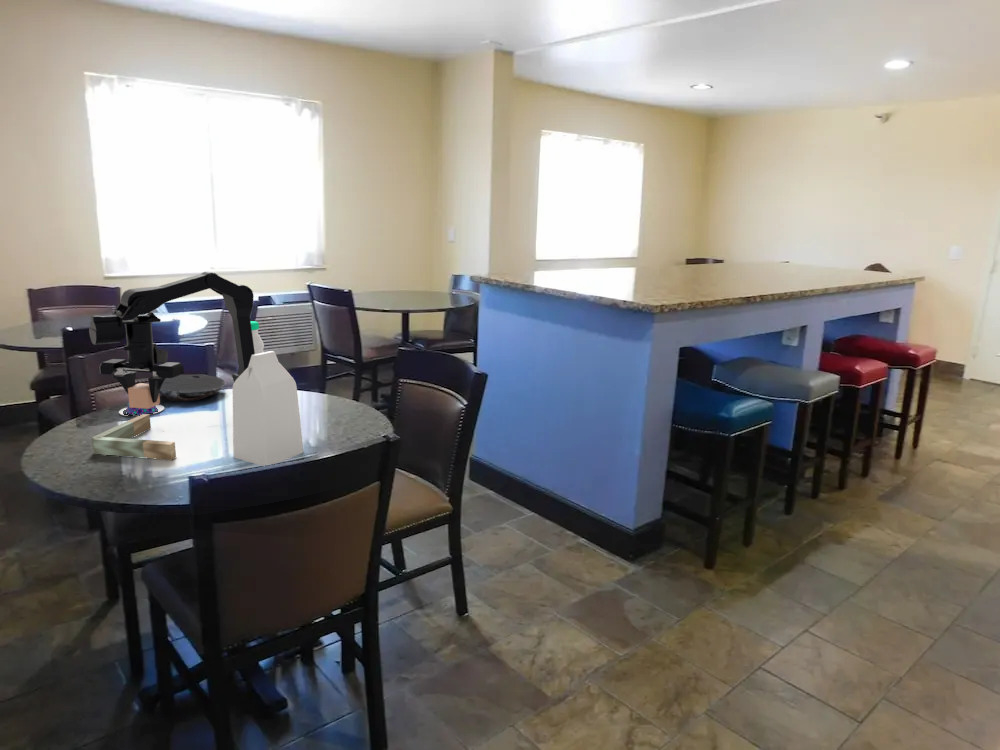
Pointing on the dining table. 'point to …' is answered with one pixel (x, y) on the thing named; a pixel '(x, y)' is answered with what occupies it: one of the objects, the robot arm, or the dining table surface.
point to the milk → (266, 412)
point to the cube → (141, 396)
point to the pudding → (141, 410)
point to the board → (191, 387)
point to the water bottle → (256, 338)
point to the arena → (132, 441)
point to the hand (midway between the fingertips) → (144, 401)
